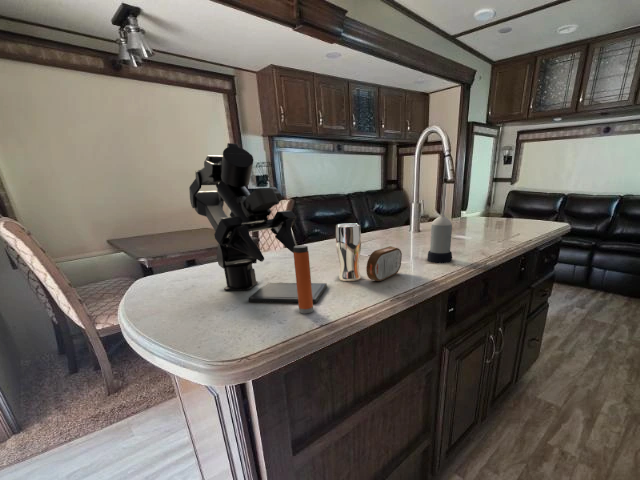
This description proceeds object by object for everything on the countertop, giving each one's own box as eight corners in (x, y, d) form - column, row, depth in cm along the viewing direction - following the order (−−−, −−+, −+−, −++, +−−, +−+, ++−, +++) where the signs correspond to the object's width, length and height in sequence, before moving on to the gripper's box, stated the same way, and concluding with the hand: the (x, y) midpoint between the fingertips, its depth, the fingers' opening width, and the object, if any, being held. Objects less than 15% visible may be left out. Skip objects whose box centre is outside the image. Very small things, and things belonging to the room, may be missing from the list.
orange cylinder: (297, 313, 67) (290, 248, 62) (301, 308, 70) (295, 245, 65) (311, 313, 67) (305, 248, 62) (314, 308, 69) (309, 245, 64)
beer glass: (363, 275, 93) (362, 223, 88) (360, 282, 87) (359, 226, 82) (340, 274, 94) (337, 223, 89) (335, 281, 88) (332, 226, 82)
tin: (394, 270, 97) (394, 243, 94) (403, 272, 95) (404, 244, 92) (365, 283, 86) (364, 252, 83) (375, 285, 84) (374, 254, 81)
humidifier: (455, 259, 109) (462, 182, 100) (445, 264, 103) (451, 183, 94) (434, 256, 114) (438, 182, 105) (423, 261, 108) (426, 183, 99)
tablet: (248, 302, 74) (248, 297, 73) (268, 286, 85) (267, 282, 84) (316, 303, 72) (315, 298, 72) (326, 286, 83) (326, 282, 83)
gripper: (211, 173, 59) (258, 238, 57) (286, 174, 73) (326, 225, 71) (196, 215, 65) (238, 274, 64) (268, 208, 80) (303, 256, 78)
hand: (280, 255), depth 69 cm, fingers open, 9 cm apart
